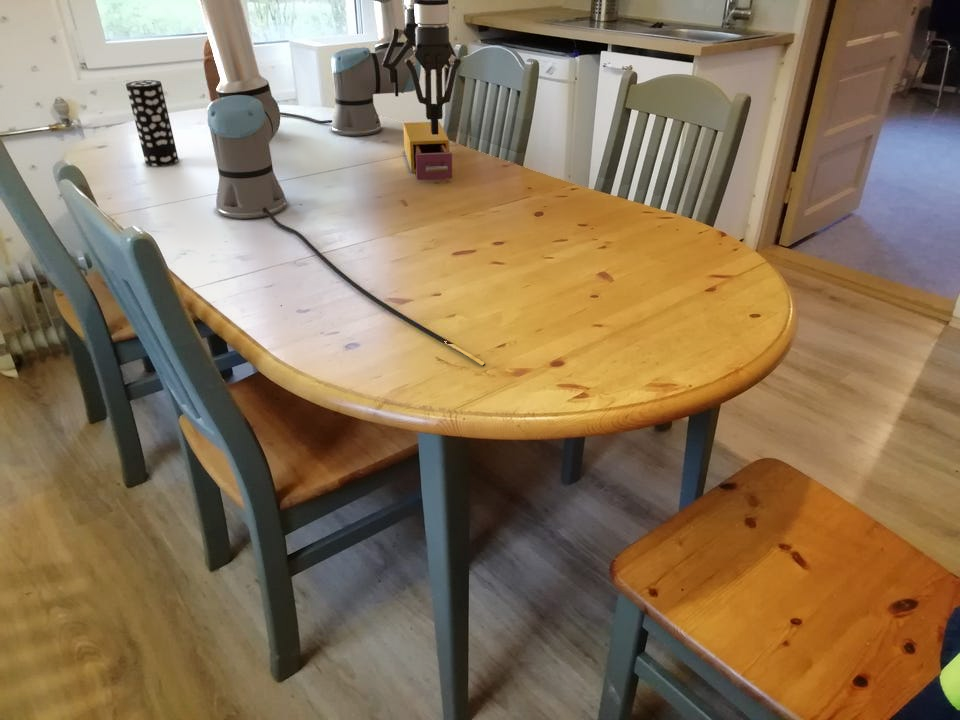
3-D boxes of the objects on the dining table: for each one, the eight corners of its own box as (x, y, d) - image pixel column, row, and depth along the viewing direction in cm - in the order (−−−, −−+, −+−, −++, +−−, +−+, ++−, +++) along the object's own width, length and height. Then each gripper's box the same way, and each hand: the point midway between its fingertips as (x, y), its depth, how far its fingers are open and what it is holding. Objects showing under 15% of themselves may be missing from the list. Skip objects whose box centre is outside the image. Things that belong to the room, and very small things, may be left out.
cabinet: (449, 171, 183) (449, 139, 178) (411, 172, 181) (409, 141, 177) (439, 150, 199) (439, 121, 194) (404, 152, 197) (403, 122, 193)
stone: (257, 139, 205) (240, 35, 190) (217, 142, 202) (197, 37, 187) (254, 125, 222) (238, 28, 208) (217, 127, 219) (198, 30, 205)
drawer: (455, 185, 170) (455, 159, 167) (419, 186, 169) (418, 161, 166) (442, 157, 190) (442, 134, 186) (410, 159, 188) (409, 135, 185)
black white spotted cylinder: (184, 157, 190) (167, 80, 179) (169, 166, 183) (151, 87, 172) (155, 156, 190) (136, 79, 179) (139, 165, 183) (119, 86, 172)
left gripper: (458, 22, 157) (458, 128, 170) (401, 23, 155) (406, 130, 168) (463, 26, 151) (463, 136, 164) (404, 27, 149) (409, 138, 162)
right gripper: (465, 4, 179) (465, 90, 191) (368, 5, 175) (374, 92, 187) (470, 8, 173) (469, 96, 185) (370, 9, 169) (376, 99, 181)
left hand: (434, 132), depth 166 cm, fingers closed
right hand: (421, 94), depth 186 cm, fingers open, 13 cm apart
